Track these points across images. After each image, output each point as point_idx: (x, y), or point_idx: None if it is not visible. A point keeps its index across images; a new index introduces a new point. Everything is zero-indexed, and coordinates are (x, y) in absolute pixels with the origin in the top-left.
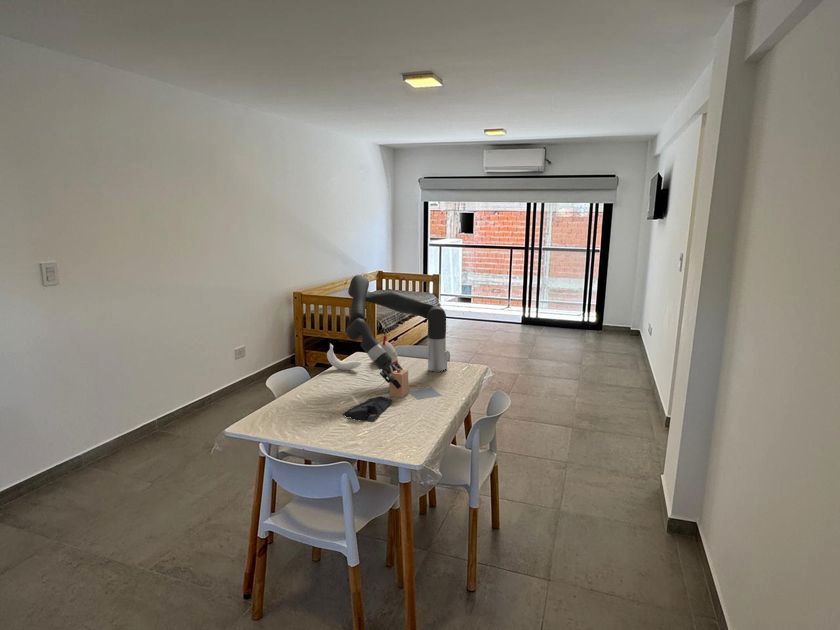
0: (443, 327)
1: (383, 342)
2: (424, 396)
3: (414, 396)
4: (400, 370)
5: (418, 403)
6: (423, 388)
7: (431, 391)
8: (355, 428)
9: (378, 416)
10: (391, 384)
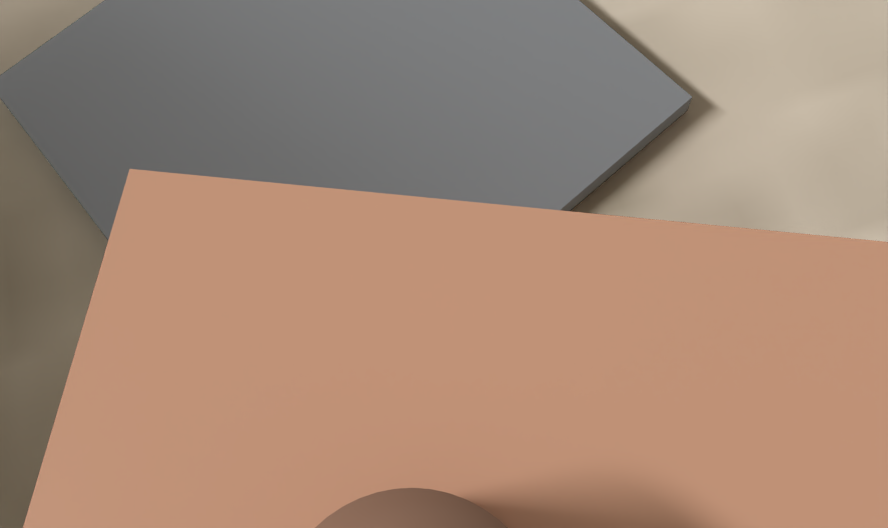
0: None
1: None
2: (484, 38)
3: (542, 201)
4: (426, 493)
5: (787, 60)
6: (69, 183)
7: (206, 9)
8: None
9: None
10: None
